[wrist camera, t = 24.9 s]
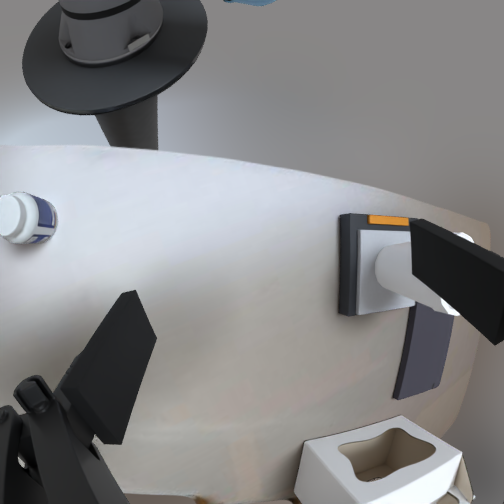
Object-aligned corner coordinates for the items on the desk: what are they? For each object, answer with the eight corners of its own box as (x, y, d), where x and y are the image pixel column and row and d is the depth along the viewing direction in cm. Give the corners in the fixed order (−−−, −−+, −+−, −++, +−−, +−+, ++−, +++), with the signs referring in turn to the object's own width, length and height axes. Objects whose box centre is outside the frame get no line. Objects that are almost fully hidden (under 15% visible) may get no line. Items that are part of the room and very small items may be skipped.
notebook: (413, 283, 46) (392, 397, 46) (419, 284, 45) (397, 400, 45) (452, 284, 50) (433, 384, 50) (458, 284, 48) (439, 386, 48)
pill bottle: (35, 192, 30) (-1, 177, 21) (65, 211, 31) (34, 201, 22) (17, 230, 29) (-22, 227, 20) (47, 251, 31) (12, 253, 21)
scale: (340, 214, 41) (353, 212, 38) (407, 219, 45) (421, 218, 42) (338, 312, 42) (351, 317, 39) (405, 302, 46) (419, 306, 43)
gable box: (291, 491, 41) (368, 595, 15) (302, 440, 41) (407, 554, 14) (385, 462, 48) (471, 527, 21) (402, 413, 48) (507, 475, 21)
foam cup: (367, 232, 39) (440, 230, 27) (412, 235, 42) (480, 234, 29) (364, 302, 39) (435, 321, 27) (409, 296, 42) (476, 310, 29)
